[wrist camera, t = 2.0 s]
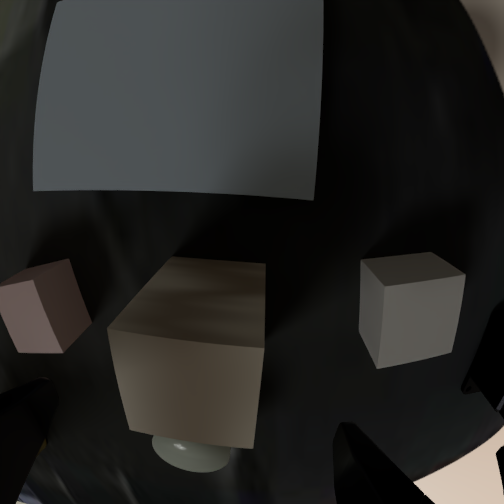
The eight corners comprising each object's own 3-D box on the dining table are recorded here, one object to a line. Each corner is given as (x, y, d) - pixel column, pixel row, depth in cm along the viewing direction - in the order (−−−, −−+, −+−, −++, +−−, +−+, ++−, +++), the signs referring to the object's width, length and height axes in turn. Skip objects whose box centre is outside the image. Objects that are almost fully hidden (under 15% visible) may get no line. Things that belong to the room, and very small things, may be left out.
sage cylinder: (236, 391, 17) (230, 434, 14) (233, 436, 18) (229, 475, 15) (163, 381, 17) (146, 421, 14) (170, 427, 18) (157, 464, 15)
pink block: (70, 257, 15) (32, 279, 12) (92, 321, 16) (63, 353, 13) (26, 268, 16) (-9, 288, 12) (48, 325, 17) (18, 352, 13)
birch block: (265, 263, 15) (264, 348, 8) (258, 344, 16) (252, 448, 9) (172, 256, 15) (107, 328, 8) (174, 335, 16) (130, 429, 9)
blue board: (320, -15, 11) (323, -24, 10) (310, 197, 14) (313, 200, 13) (66, 7, 11) (57, 2, 10) (44, 188, 14) (33, 191, 13)
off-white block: (430, 251, 14) (465, 274, 11) (423, 319, 15) (451, 352, 12) (359, 258, 15) (384, 286, 11) (358, 329, 16) (376, 368, 12)
